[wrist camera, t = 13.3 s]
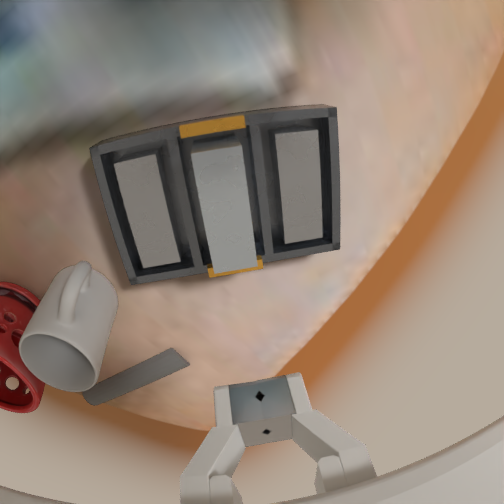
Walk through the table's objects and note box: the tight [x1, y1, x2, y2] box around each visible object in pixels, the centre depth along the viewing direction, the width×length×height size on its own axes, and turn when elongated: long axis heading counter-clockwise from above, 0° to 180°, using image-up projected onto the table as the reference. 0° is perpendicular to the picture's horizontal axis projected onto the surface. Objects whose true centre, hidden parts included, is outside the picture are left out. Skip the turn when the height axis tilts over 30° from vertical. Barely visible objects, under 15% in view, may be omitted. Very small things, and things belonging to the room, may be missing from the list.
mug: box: [19, 261, 118, 392], centre depth 28 cm, size 12×8×11 cm
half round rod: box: [82, 348, 190, 405], centre depth 41 cm, size 4×20×2 cm, turn 121°
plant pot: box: [0, 282, 45, 413], centre depth 29 cm, size 13×13×12 cm
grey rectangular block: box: [191, 133, 258, 274], centre depth 27 cm, size 4×10×6 cm, turn 7°
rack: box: [89, 104, 340, 285], centre depth 28 cm, size 21×14×4 cm
